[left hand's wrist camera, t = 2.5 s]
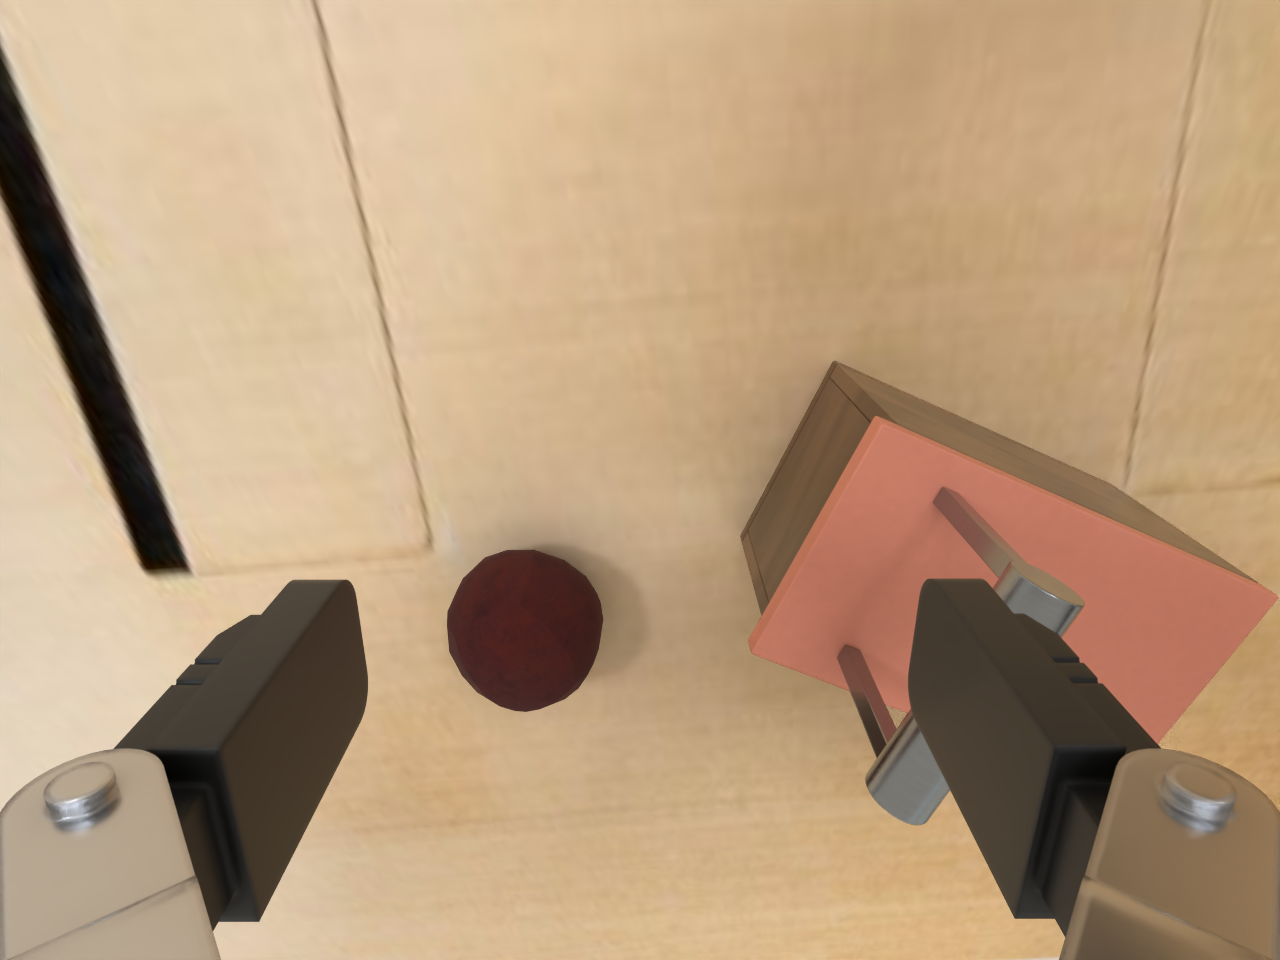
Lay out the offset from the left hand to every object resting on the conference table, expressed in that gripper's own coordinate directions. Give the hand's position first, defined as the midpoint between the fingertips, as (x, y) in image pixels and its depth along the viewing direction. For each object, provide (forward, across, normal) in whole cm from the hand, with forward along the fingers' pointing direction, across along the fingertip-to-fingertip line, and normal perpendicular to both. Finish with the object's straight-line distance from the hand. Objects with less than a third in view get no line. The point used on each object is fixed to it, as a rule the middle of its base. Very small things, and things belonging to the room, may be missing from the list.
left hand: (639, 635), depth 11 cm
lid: (+17, +14, -10) cm, 24 cm away
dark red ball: (+27, -6, -14) cm, 31 cm away
